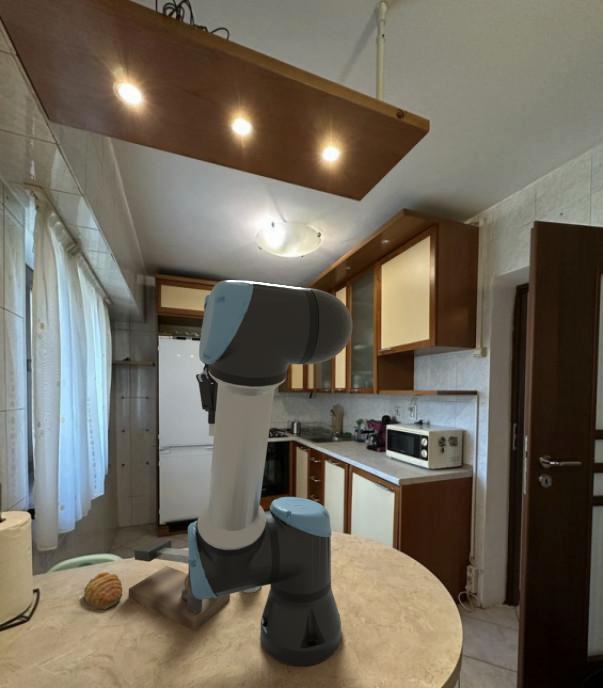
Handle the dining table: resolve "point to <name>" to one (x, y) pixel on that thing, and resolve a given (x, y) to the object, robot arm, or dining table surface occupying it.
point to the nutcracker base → (175, 597)
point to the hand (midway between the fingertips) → (214, 435)
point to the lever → (161, 552)
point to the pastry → (103, 590)
